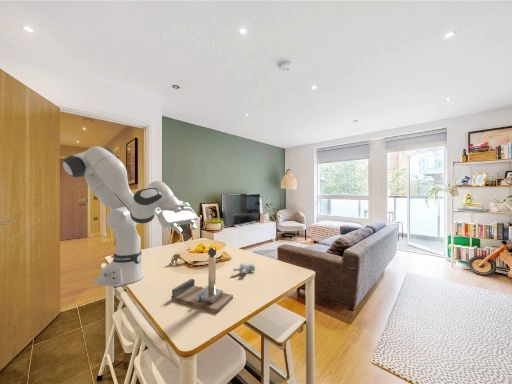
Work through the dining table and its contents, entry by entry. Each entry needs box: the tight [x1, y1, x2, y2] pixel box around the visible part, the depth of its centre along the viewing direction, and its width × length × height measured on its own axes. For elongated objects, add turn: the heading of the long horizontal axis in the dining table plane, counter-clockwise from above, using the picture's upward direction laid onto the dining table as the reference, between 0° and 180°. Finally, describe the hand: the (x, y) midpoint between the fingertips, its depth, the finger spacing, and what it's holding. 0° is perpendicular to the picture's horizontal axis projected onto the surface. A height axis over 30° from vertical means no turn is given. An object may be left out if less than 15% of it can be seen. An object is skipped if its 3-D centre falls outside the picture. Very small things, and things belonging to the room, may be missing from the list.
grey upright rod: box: [196, 247, 224, 304], centre depth 87 cm, size 7×10×21 cm
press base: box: [170, 278, 234, 314], centre depth 89 cm, size 24×12×4 cm, turn 67°
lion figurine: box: [169, 248, 191, 266], centre depth 132 cm, size 15×5×9 cm, turn 120°
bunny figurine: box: [233, 262, 256, 275], centre depth 119 cm, size 10×5×15 cm
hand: (188, 230), depth 92 cm, fingers open, 8 cm apart
